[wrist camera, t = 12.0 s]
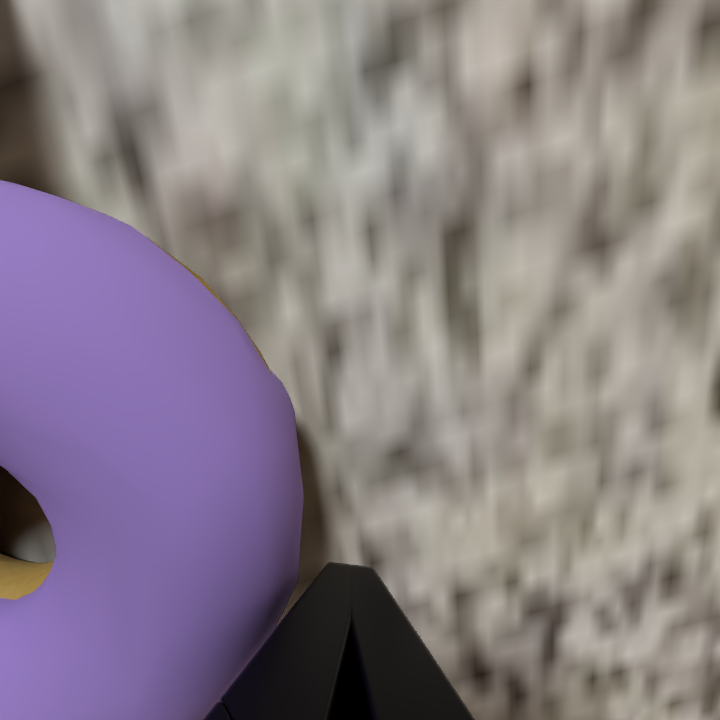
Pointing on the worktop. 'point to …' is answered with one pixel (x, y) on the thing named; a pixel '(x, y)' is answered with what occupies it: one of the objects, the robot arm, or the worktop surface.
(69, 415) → the donut
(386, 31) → the worktop surface
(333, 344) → the worktop surface
